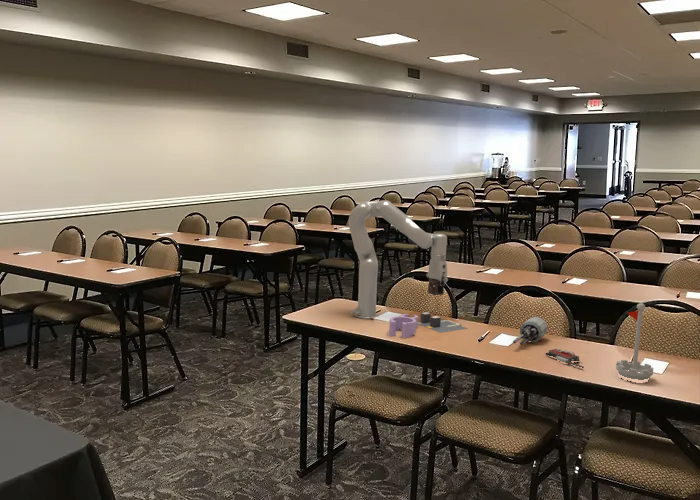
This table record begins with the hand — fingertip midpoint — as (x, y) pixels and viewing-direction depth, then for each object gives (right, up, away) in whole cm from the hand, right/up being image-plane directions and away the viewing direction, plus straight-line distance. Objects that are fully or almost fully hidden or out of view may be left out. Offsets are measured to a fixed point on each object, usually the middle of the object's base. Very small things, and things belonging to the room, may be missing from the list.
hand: (435, 291), depth 309 cm
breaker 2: (-3, -16, -16) cm, 23 cm away
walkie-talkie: (+47, -26, -60) cm, 80 cm away
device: (+37, -22, -36) cm, 56 cm away
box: (0, -2, 0) cm, 2 cm away
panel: (0, -17, -14) cm, 22 cm away
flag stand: (+66, -29, -78) cm, 106 cm away
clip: (-19, -18, -24) cm, 36 cm away
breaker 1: (-7, -15, -8) cm, 19 cm away
